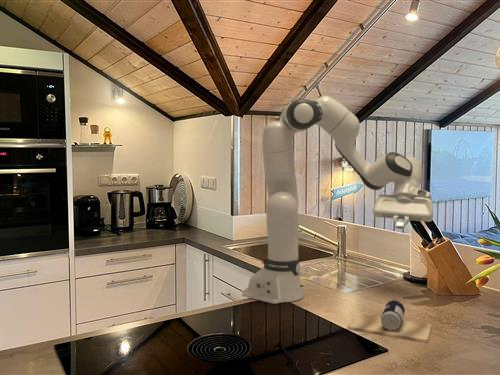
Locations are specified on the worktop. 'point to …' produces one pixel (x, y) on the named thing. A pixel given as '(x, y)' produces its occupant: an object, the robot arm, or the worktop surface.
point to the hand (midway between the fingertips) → (399, 228)
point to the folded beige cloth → (404, 331)
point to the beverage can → (392, 315)
